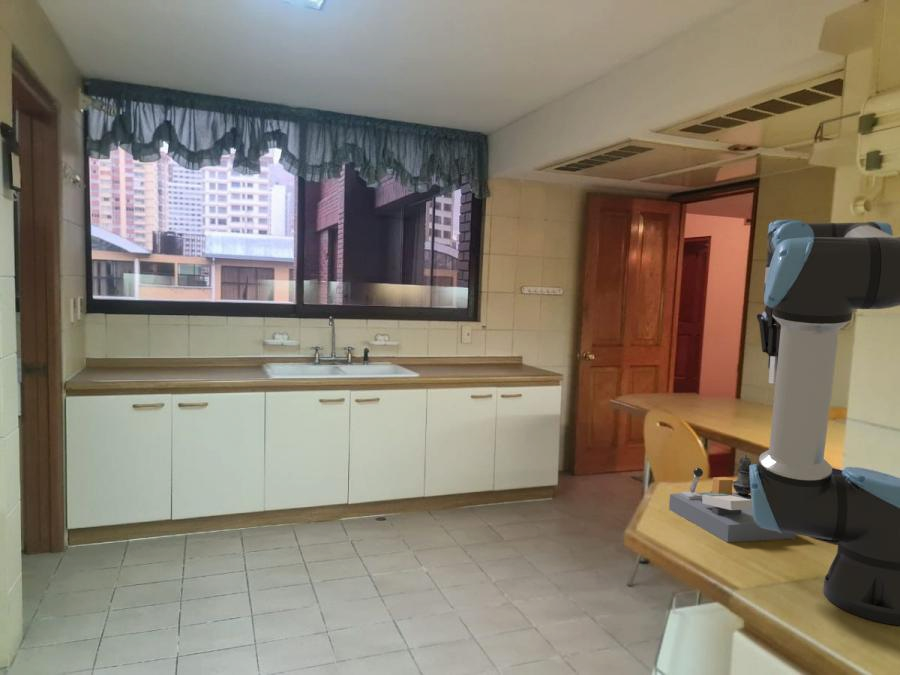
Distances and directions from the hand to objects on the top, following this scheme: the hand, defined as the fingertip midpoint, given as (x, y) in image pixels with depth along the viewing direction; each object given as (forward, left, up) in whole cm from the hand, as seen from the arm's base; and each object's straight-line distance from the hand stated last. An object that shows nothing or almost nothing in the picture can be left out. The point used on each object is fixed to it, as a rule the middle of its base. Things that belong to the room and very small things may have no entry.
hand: (775, 383), depth 145 cm
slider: (+9, +6, -30) cm, 32 cm away
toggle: (+9, +15, -30) cm, 34 cm away
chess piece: (+19, -9, -35) cm, 40 cm away
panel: (+1, +10, -34) cm, 36 cm away
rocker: (-3, +14, -28) cm, 31 cm away
